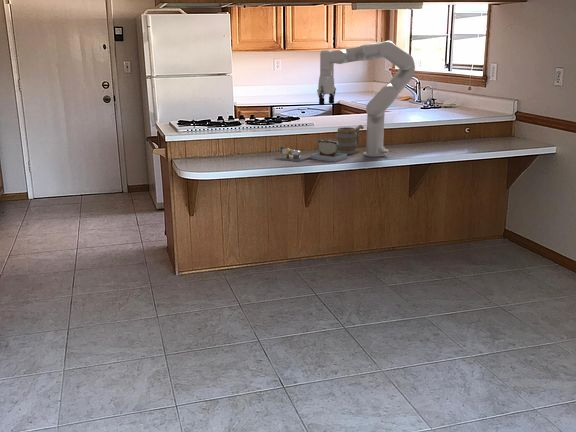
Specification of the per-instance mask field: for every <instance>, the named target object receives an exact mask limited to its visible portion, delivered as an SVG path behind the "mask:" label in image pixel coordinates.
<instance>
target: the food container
mask: <svg viewBox="0 0 576 432" xmlns="http://www.w3.org/2000/svg"><path fill="white" fill-rule="evenodd" d="M317 144H318V152H319V155H323V156H331V157H336V151H337V145H338V139H335V138H320V139H317Z"/></svg>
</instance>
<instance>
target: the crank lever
mask: <svg viewBox="0 0 576 432" xmlns="http://www.w3.org/2000/svg"><path fill="white" fill-rule="evenodd" d="M279 148H280V150H279V151H280V152H279V153H280V154H284V155H286V148H285V146H280V147H279ZM289 155H293V157H300V155H301V150H297V149H291V148H289Z"/></svg>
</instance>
